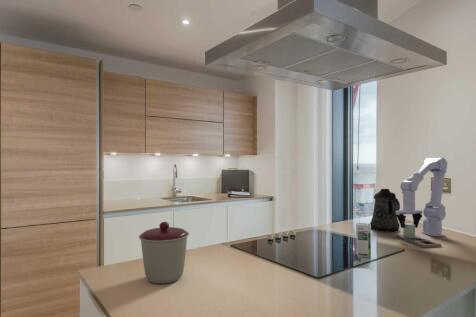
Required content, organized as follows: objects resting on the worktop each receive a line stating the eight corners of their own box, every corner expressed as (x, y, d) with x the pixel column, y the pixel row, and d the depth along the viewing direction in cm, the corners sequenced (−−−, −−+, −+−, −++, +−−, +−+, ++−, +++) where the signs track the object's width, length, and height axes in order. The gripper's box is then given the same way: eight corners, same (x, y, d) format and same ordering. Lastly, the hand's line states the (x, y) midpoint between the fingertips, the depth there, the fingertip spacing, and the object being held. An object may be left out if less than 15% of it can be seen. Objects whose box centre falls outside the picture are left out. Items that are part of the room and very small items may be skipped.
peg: (403, 238, 175) (403, 223, 175) (410, 237, 176) (410, 223, 176) (408, 239, 171) (408, 225, 171) (415, 239, 172) (415, 224, 172)
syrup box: (357, 256, 142) (356, 224, 142) (356, 253, 148) (356, 222, 148) (370, 258, 141) (370, 225, 141) (369, 254, 146) (369, 222, 146)
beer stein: (378, 225, 208) (377, 187, 208) (409, 230, 193) (409, 189, 193) (365, 229, 197) (364, 189, 197) (397, 234, 182) (396, 191, 182)
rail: (396, 237, 177) (396, 234, 177) (412, 236, 178) (412, 234, 178) (423, 247, 156) (423, 244, 156) (441, 246, 157) (441, 244, 157)
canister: (137, 273, 123) (137, 219, 123) (184, 267, 130) (183, 216, 130) (140, 291, 106) (140, 229, 106) (194, 284, 113) (193, 224, 113)
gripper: (401, 203, 168) (401, 229, 168) (426, 203, 170) (426, 228, 170) (393, 202, 175) (393, 226, 175) (417, 201, 177) (417, 225, 177)
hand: (409, 227), depth 173 cm, fingers open, 7 cm apart
